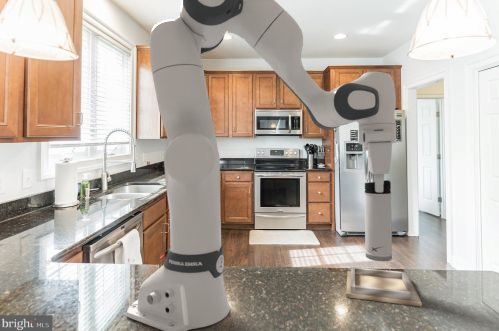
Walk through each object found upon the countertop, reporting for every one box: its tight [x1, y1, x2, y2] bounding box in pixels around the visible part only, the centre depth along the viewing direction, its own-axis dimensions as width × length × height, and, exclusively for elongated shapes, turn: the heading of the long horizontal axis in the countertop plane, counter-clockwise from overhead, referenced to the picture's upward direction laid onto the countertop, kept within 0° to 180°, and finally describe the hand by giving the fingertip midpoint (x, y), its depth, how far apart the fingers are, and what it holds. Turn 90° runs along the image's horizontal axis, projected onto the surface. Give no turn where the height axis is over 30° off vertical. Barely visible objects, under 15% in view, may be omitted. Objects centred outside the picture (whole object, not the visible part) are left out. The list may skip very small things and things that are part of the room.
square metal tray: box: [345, 266, 423, 308], centre depth 76 cm, size 16×16×2 cm
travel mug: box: [364, 179, 393, 262], centre depth 76 cm, size 6×7×20 cm
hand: (377, 190), depth 76 cm, fingers closed on travel mug, 6 cm apart
